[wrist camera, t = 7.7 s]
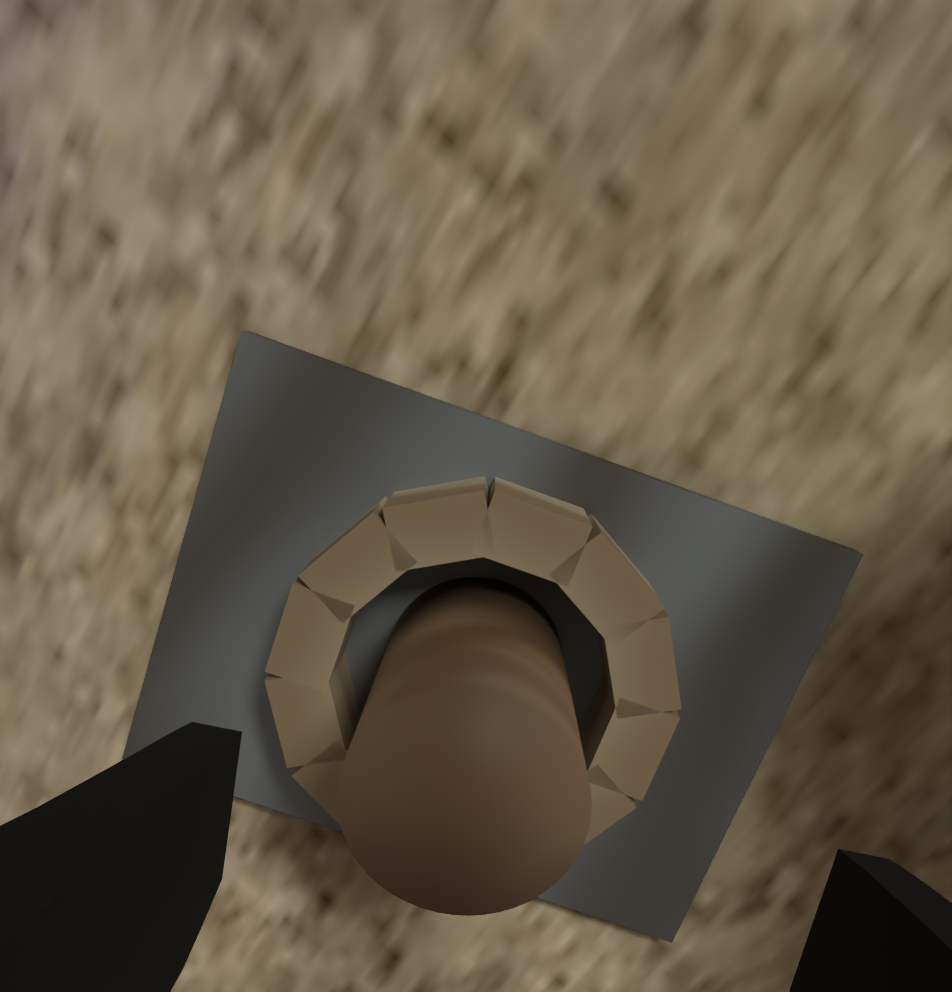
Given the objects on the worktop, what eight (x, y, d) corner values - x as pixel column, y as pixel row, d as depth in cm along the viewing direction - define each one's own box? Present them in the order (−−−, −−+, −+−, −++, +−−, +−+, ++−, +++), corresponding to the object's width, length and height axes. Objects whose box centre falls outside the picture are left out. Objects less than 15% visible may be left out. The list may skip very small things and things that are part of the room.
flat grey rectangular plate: (853, 549, 18) (903, 578, 16) (667, 928, 21) (688, 1000, 18) (248, 331, 17) (211, 329, 15) (131, 748, 20) (84, 800, 18)
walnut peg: (572, 585, 18) (606, 701, 12) (552, 747, 19) (575, 927, 13) (394, 568, 18) (343, 675, 12) (383, 730, 19) (330, 902, 13)
